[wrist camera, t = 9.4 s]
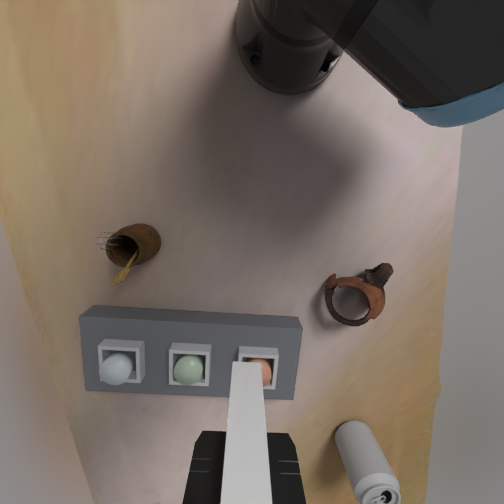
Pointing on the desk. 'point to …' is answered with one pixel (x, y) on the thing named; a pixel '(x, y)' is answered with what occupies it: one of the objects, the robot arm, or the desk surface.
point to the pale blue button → (116, 368)
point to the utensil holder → (131, 247)
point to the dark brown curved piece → (371, 290)
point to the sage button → (188, 369)
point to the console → (188, 348)
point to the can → (366, 465)
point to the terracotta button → (263, 369)
